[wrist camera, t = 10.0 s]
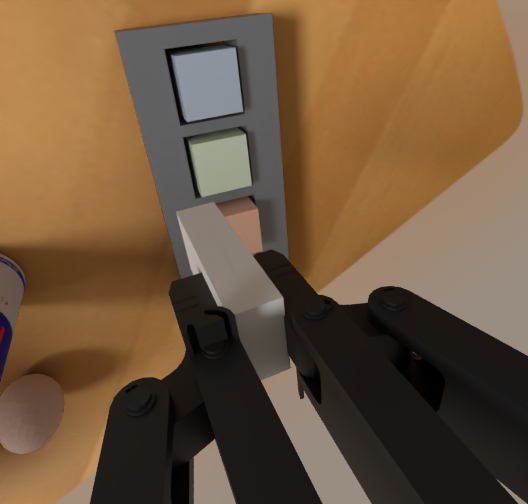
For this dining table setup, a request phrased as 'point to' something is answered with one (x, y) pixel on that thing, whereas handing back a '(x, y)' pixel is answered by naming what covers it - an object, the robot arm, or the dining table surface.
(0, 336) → the beverage can
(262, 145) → the keypad
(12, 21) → the dining table surface
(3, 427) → the egg
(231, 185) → the key sage
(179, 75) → the key slate
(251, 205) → the key terracotta
